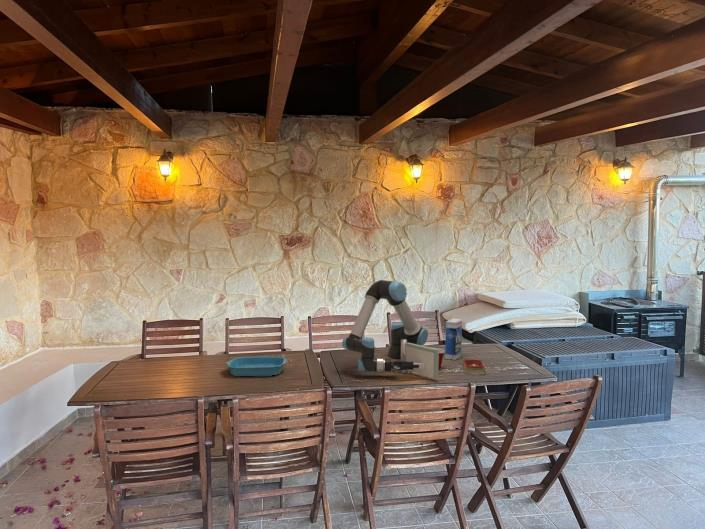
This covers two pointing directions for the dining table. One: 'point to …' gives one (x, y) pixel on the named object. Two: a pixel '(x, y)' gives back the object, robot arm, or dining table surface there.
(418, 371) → the beige panel
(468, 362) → the hardcover book
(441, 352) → the plastic cup
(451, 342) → the string lights box
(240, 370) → the casserole dish
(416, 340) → the robot arm
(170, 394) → the dining table surface
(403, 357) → the post
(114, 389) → the dining table surface
